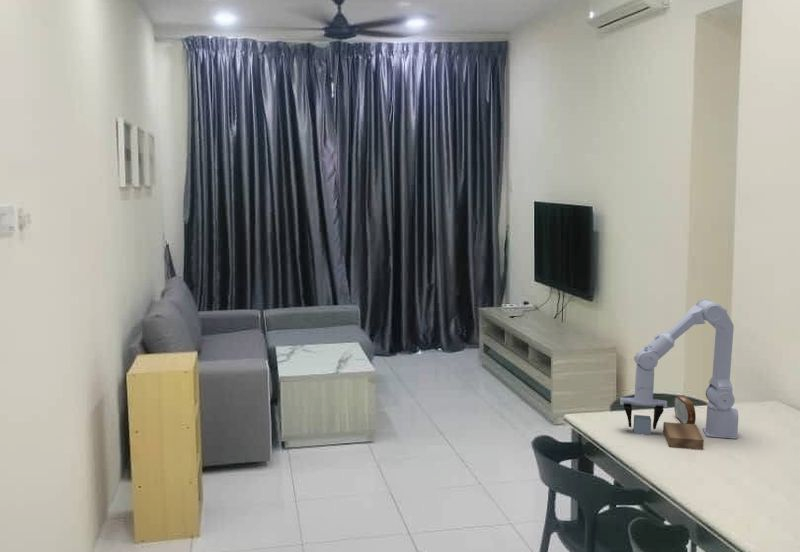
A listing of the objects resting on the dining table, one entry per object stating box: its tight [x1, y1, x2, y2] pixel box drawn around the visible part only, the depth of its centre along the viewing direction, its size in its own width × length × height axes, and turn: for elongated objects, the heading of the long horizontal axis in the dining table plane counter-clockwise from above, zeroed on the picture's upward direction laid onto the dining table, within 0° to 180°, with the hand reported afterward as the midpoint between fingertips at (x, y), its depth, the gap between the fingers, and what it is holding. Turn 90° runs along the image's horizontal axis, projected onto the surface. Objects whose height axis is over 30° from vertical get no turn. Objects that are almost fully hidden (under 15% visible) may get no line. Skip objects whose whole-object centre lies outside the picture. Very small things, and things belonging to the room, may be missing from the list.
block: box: [632, 414, 652, 436], centre depth 264 cm, size 5×5×5 cm
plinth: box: [662, 421, 704, 450], centre depth 256 cm, size 10×16×3 cm, turn 168°
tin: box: [673, 394, 697, 424], centre depth 275 cm, size 15×3×8 cm, turn 179°
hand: (642, 427), depth 264 cm, fingers open, 7 cm apart
